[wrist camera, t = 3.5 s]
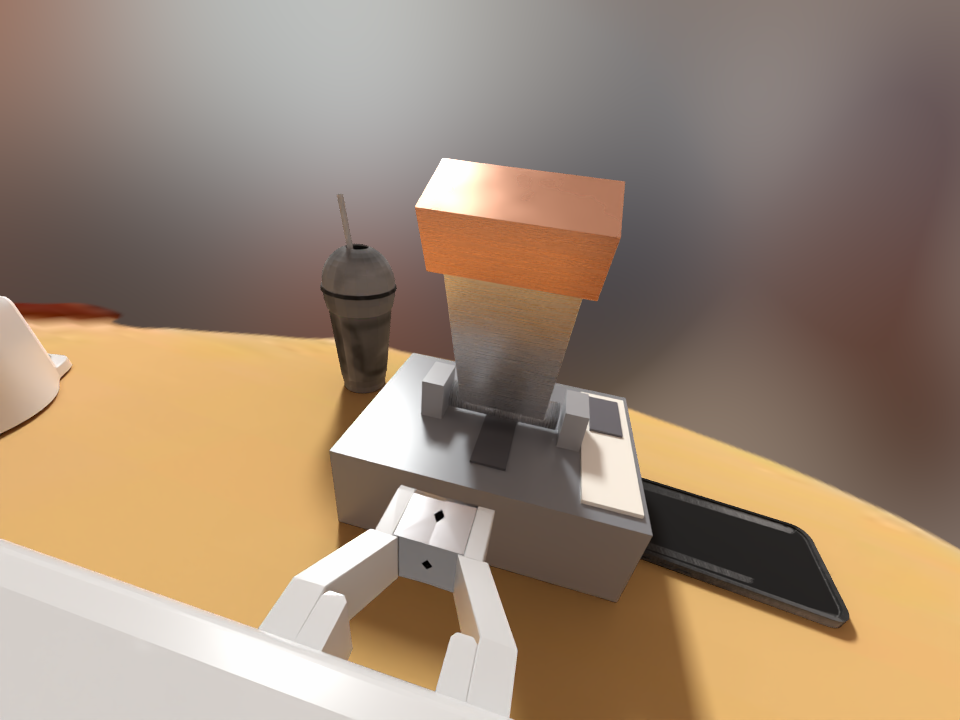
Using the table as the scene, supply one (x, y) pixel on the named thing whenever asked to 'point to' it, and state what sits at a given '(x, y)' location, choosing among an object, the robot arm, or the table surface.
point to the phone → (741, 553)
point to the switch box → (506, 475)
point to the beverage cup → (359, 310)
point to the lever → (515, 275)
